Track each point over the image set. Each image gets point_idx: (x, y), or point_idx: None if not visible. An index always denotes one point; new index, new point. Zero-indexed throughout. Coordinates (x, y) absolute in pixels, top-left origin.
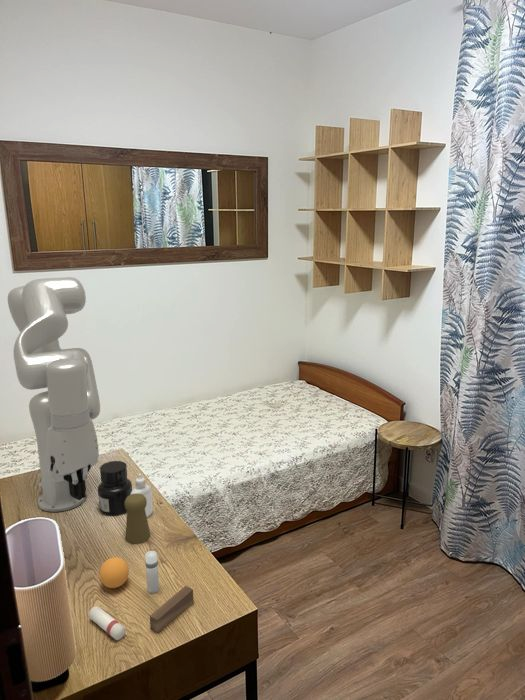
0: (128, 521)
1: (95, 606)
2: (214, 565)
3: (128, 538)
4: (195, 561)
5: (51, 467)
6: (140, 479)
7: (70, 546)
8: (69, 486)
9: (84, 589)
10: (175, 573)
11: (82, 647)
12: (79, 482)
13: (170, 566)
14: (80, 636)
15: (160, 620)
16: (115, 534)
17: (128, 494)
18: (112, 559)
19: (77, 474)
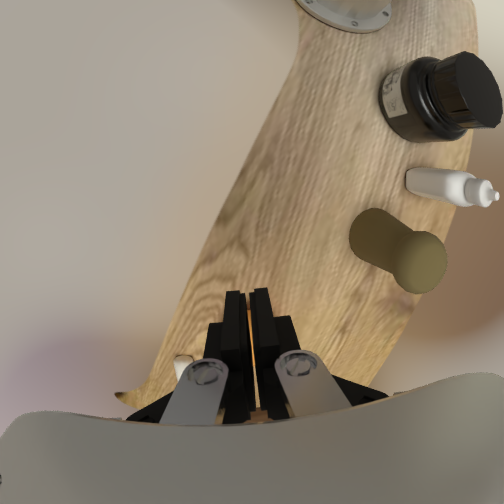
0: (377, 248)
1: (184, 367)
2: (370, 380)
3: (354, 239)
4: (367, 360)
5: (35, 417)
6: (486, 200)
7: (259, 142)
8: (205, 356)
9: (203, 294)
10: (330, 363)
11: (150, 378)
12: (253, 407)
13: (339, 347)
14: (155, 365)
15: None
16: (352, 187)
17: (444, 141)
18: (252, 352)
19: (279, 398)
